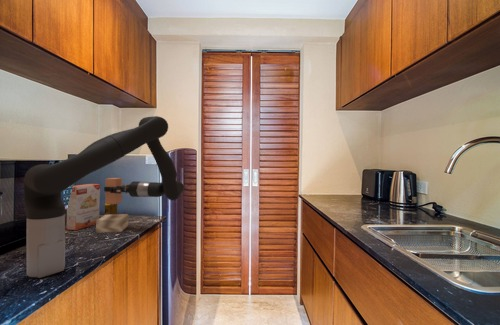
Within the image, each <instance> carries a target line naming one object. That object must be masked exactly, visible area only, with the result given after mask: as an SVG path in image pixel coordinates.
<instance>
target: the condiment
mask: <svg viewBox="0 0 500 325" xmlns="http://www.w3.org/2000/svg"><path fill="white" fill-rule="evenodd" d="M114 214H118V203H117V204H106V201H105V203H104V215H114Z"/></svg>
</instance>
